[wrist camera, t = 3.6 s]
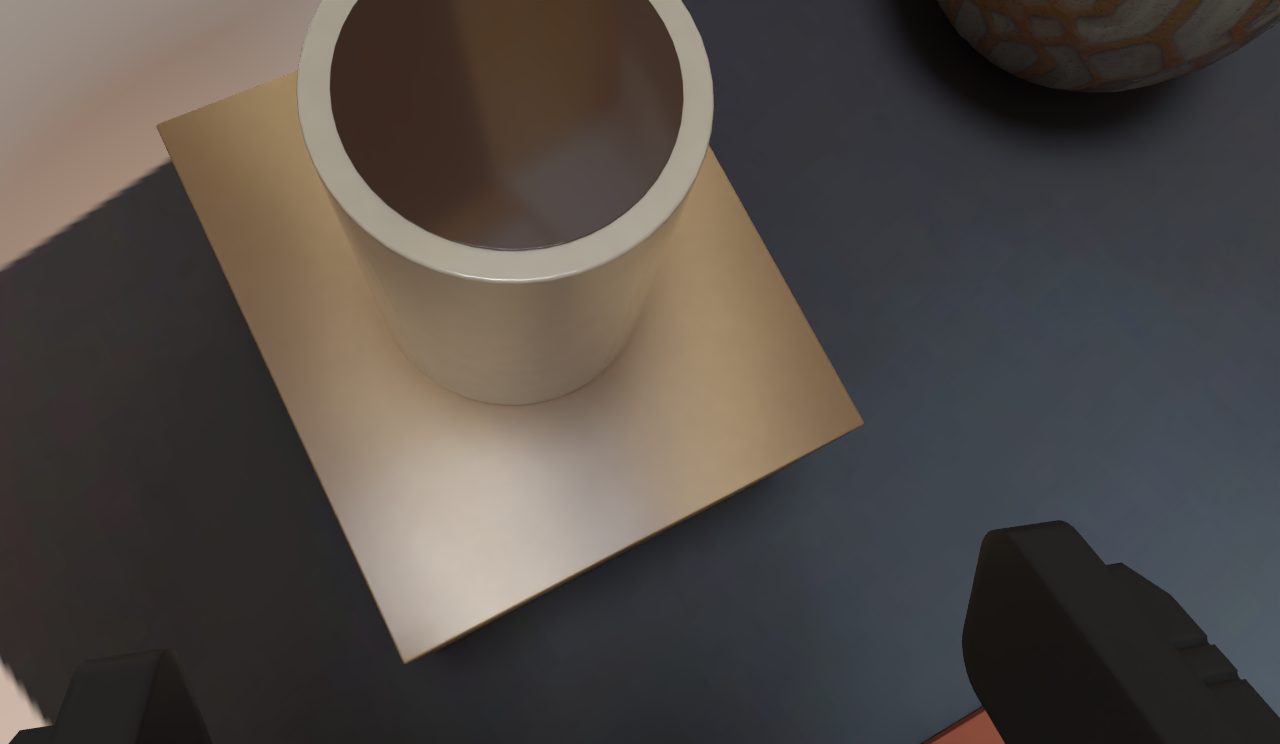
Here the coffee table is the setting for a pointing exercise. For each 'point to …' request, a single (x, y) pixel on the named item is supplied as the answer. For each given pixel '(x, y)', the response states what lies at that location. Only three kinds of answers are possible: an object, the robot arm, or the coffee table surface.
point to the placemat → (970, 731)
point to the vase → (1107, 37)
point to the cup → (507, 174)
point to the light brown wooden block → (490, 433)
